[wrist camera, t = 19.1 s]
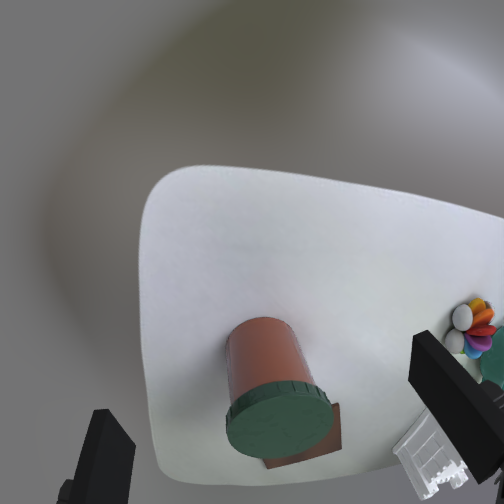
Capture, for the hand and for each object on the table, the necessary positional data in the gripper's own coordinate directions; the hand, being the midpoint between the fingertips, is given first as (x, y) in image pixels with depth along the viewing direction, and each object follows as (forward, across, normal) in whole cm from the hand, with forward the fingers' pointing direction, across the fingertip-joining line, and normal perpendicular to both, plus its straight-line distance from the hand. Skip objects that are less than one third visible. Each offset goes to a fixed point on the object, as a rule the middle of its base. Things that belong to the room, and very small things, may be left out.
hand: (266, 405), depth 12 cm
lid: (+10, 0, -15) cm, 18 cm away
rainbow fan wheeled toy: (+23, +32, -22) cm, 45 cm away
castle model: (+23, +30, -50) cm, 63 cm away
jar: (+23, 0, -15) cm, 27 cm away
